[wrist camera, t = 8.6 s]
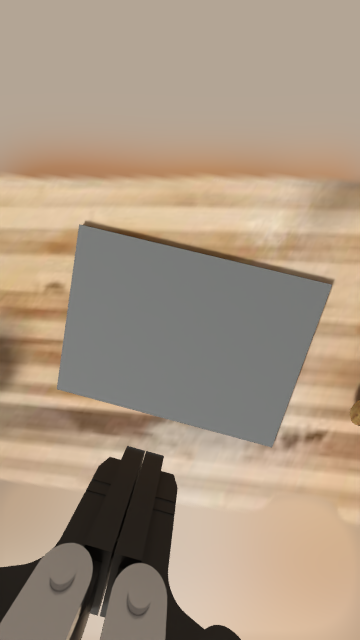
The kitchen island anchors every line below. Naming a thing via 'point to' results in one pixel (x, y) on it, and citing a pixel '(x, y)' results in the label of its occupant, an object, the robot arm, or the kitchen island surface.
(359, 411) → the crab claw
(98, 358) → the mat
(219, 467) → the kitchen island surface
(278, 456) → the kitchen island surface
